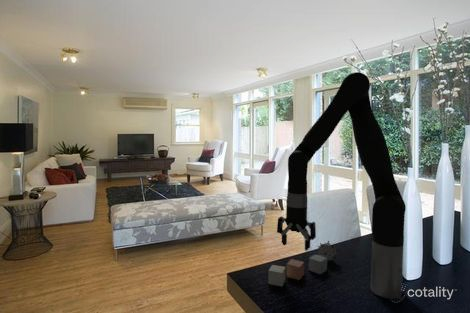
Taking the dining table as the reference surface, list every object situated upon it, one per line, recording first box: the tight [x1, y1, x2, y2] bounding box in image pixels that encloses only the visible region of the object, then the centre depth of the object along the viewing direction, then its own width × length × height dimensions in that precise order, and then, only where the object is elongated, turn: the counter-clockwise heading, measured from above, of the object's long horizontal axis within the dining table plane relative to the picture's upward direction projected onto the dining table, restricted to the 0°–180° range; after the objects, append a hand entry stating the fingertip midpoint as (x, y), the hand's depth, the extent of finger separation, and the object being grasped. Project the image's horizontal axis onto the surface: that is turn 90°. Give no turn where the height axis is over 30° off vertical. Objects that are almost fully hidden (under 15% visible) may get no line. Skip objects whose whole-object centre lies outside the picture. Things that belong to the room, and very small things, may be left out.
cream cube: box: [267, 264, 287, 287], centre depth 105 cm, size 5×5×5 cm
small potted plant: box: [315, 240, 339, 263], centre depth 123 cm, size 9×8×10 cm
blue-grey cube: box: [308, 253, 328, 275], centre depth 115 cm, size 5×5×5 cm
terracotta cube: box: [286, 258, 305, 281], centre depth 110 cm, size 5×5×5 cm
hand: (295, 246), depth 110 cm, fingers open, 8 cm apart
